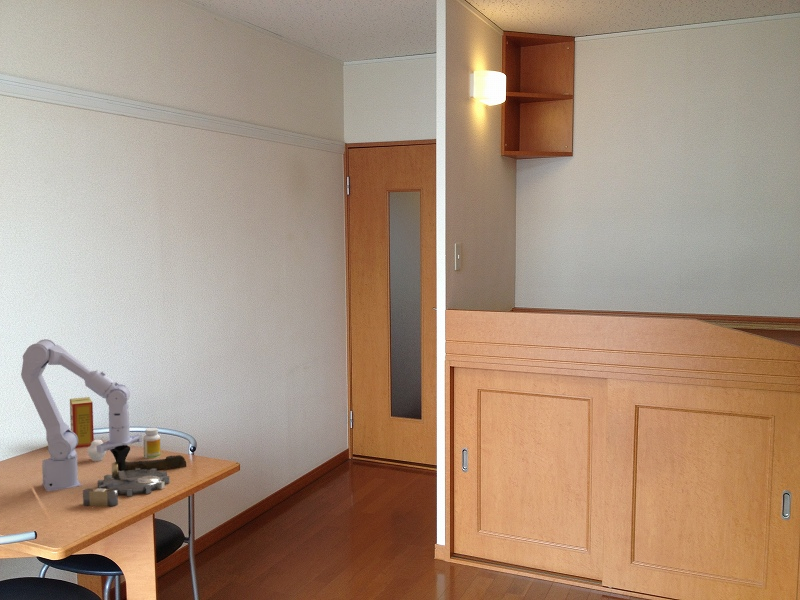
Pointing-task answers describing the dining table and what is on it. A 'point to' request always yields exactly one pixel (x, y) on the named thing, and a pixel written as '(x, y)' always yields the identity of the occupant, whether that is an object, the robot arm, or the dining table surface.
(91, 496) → the cartridge fuse
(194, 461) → the dining table surface
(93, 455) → the white ribbed jar
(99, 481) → the sprocket
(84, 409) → the baking soda box
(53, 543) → the dining table surface
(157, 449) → the supplement bottle
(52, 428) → the robot arm
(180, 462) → the dark brown rough bar
